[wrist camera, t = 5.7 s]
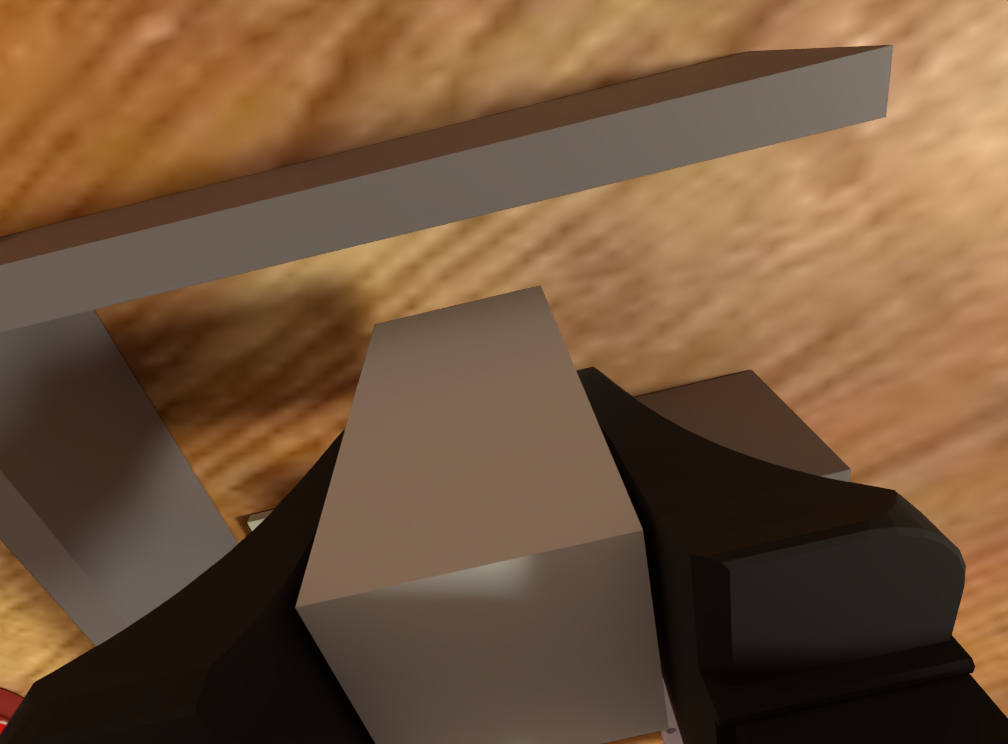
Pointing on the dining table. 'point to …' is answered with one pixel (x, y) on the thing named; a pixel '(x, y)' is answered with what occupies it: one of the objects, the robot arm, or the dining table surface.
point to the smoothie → (8, 706)
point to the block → (482, 543)
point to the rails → (326, 228)
